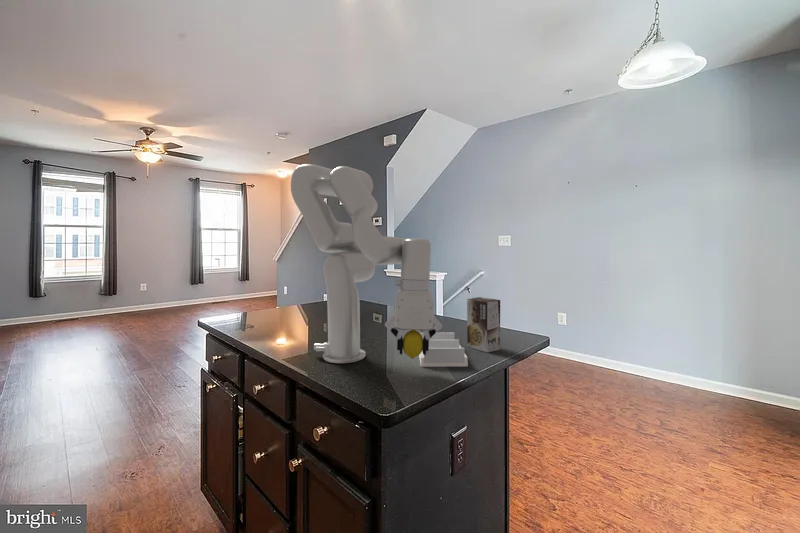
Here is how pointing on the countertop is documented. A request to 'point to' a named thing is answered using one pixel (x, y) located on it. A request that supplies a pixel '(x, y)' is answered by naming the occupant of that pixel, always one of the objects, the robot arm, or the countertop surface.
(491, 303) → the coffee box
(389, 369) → the countertop surface
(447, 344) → the dish rack
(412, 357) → the lemon
